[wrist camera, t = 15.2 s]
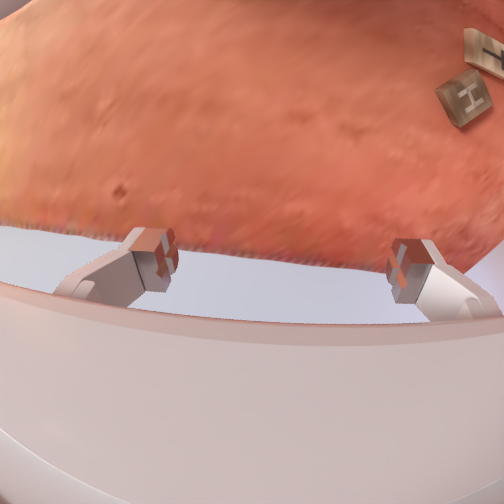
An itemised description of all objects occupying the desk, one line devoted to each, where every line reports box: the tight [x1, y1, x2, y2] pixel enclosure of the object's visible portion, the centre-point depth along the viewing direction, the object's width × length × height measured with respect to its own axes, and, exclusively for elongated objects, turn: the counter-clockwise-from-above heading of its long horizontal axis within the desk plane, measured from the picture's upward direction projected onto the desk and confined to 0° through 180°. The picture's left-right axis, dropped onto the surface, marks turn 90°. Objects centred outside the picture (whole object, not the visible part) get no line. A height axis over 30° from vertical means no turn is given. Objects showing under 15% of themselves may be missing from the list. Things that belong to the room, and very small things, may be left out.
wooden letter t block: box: [464, 28, 504, 79], centre depth 21 cm, size 6×3×8 cm
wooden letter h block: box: [434, 69, 493, 128], centre depth 27 cm, size 6×3×8 cm
